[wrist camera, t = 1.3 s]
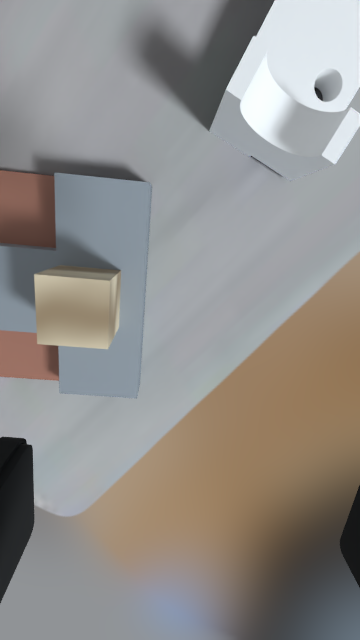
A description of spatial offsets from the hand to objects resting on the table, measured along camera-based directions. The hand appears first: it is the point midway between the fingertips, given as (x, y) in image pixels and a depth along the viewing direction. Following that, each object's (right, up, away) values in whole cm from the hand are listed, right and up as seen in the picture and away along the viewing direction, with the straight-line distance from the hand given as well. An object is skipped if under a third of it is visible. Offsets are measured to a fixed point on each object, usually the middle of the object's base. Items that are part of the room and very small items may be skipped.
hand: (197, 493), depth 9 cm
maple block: (-7, +7, +15) cm, 18 cm away
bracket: (+8, +23, +14) cm, 28 cm away
